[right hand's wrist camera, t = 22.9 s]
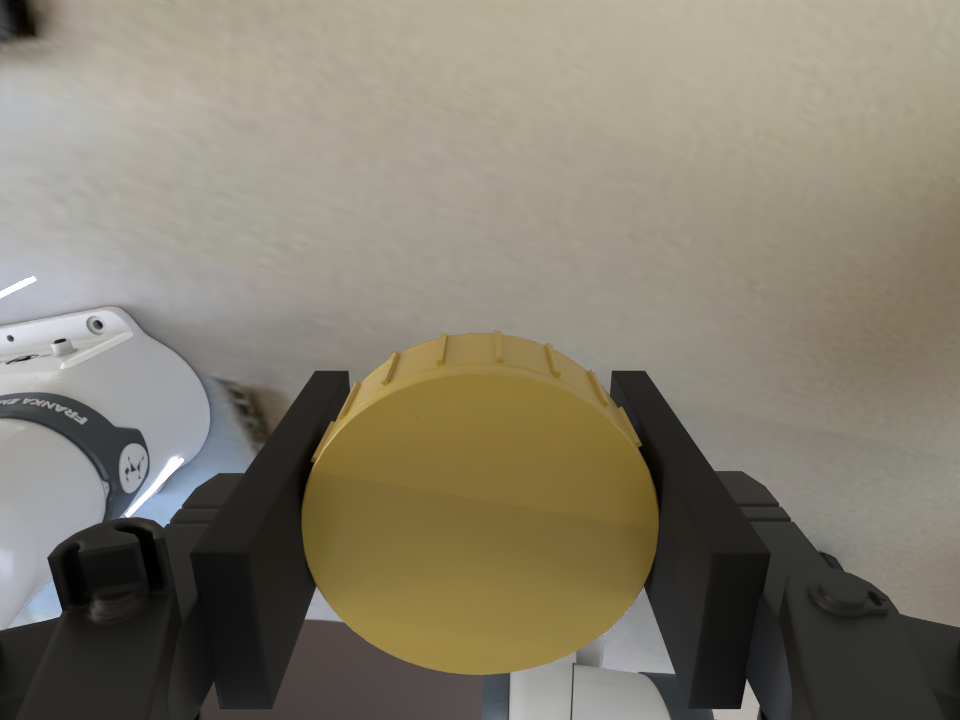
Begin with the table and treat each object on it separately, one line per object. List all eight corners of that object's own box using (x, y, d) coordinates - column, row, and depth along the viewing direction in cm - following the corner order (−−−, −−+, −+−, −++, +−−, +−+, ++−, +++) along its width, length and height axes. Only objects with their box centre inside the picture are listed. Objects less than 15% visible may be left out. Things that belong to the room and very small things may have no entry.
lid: (302, 338, 11) (267, 378, 9) (640, 320, 11) (672, 358, 9) (346, 607, 13) (324, 684, 12) (631, 595, 13) (655, 671, 11)
